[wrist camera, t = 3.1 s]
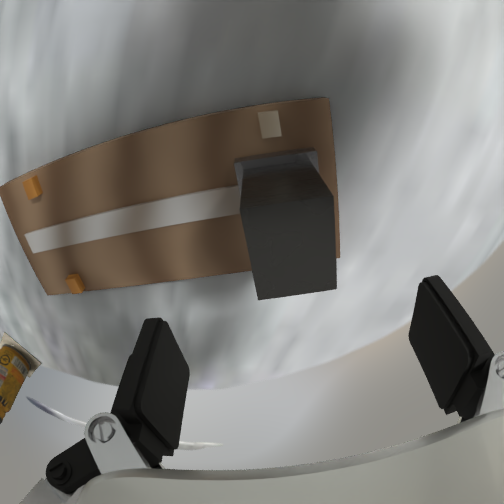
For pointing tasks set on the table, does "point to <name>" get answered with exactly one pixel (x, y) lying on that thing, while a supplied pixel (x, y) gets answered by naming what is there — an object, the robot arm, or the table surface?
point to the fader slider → (287, 223)
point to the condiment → (13, 371)
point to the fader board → (157, 198)
